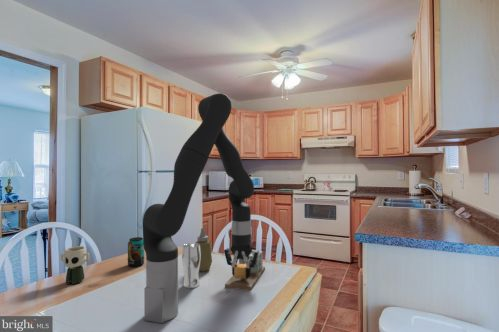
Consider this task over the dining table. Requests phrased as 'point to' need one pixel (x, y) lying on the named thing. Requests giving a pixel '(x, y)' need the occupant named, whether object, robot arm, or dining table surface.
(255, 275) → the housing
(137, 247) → the beverage can
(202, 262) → the squeeze bottle
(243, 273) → the shaft
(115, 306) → the dining table surface
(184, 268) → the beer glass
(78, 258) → the character mug
